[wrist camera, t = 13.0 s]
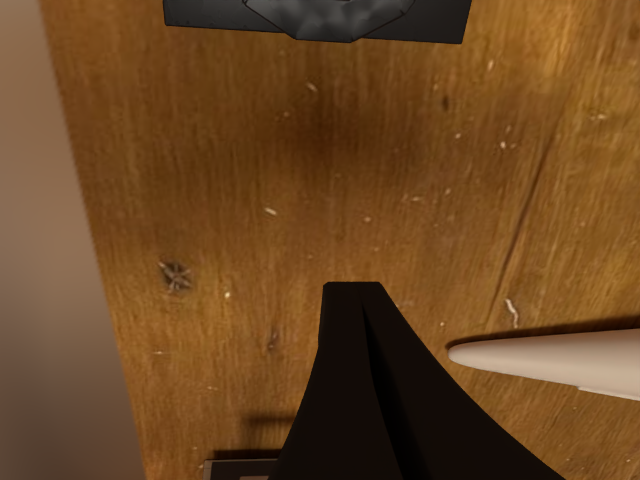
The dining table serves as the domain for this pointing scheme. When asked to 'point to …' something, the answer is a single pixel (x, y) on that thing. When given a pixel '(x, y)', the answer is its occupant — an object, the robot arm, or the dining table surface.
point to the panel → (328, 18)
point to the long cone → (564, 359)
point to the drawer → (242, 470)
